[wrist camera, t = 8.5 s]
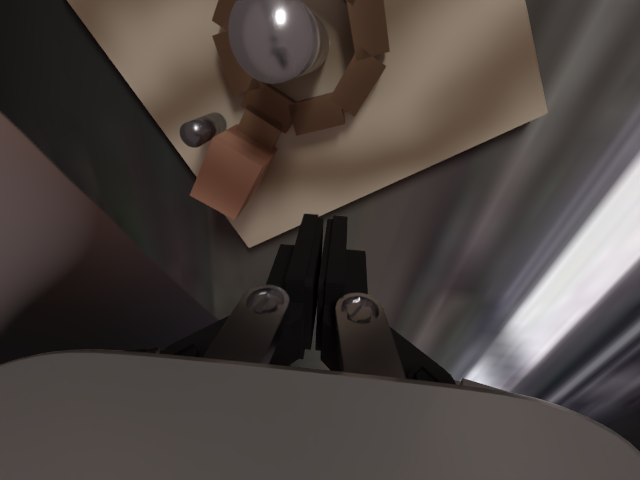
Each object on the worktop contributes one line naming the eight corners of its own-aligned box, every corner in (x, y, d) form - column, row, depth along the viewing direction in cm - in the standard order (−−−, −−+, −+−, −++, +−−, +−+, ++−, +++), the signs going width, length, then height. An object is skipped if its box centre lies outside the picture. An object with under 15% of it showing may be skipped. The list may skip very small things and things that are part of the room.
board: (63, -24, 19) (45, -29, 18) (428, -404, 12) (434, -449, 11) (253, 240, 27) (248, 248, 26) (537, 110, 20) (547, 113, 19)
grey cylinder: (183, 91, 20) (92, 109, 13) (313, -1, 17) (282, -39, 10) (214, 138, 21) (146, 176, 14) (340, 60, 18) (329, 62, 11)
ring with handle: (265, -114, 15) (237, -166, 11) (421, 8, 16) (437, -5, 13) (174, 150, 22) (140, 167, 18) (290, 217, 23) (278, 244, 20)
